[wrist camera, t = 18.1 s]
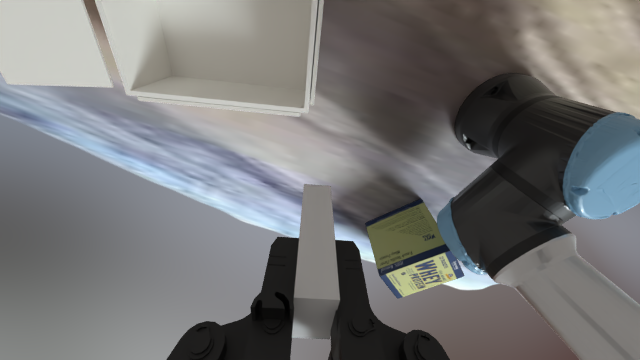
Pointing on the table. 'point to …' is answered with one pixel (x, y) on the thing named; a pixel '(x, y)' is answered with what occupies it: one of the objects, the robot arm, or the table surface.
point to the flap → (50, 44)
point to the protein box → (411, 250)
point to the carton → (217, 52)
